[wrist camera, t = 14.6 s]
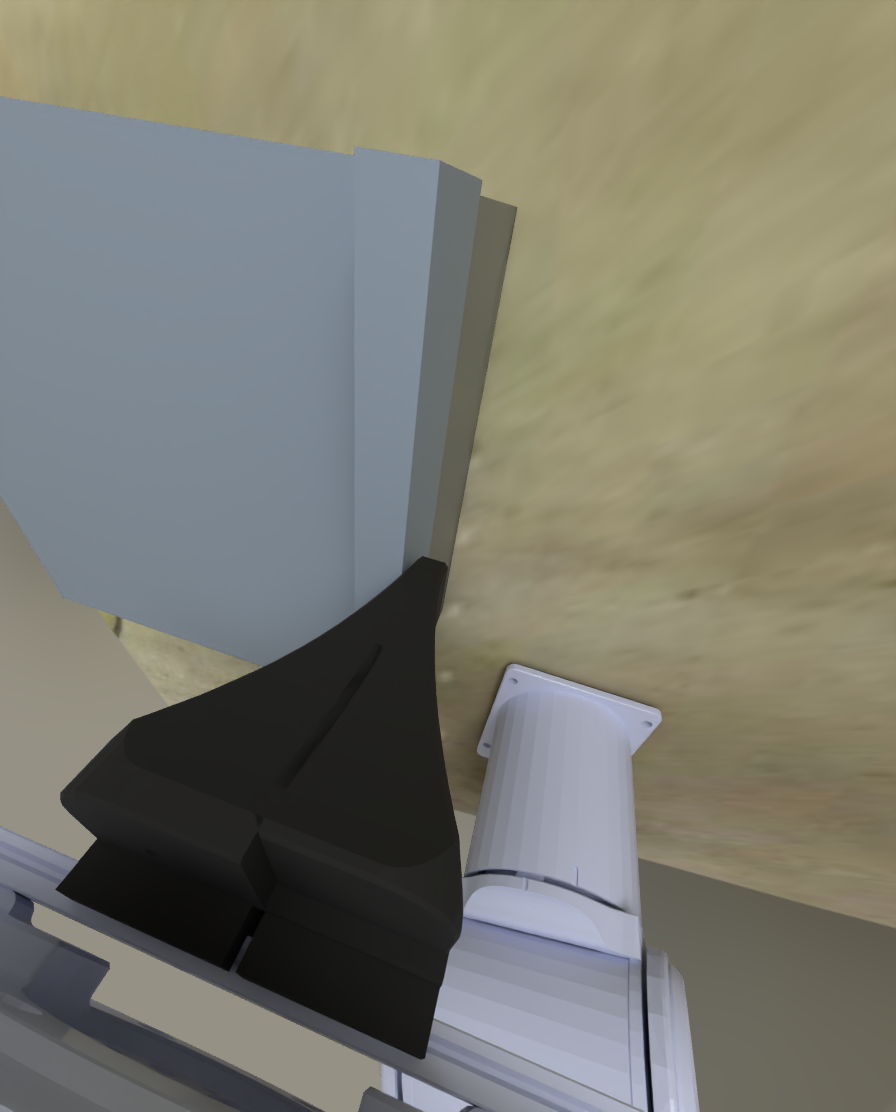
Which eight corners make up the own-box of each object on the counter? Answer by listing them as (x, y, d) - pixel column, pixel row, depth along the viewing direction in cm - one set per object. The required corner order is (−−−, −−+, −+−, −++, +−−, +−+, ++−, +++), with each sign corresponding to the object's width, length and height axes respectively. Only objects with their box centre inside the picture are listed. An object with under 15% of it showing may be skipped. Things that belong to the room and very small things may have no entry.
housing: (442, 609, 22) (409, 686, 18) (169, 525, 24) (90, 579, 20) (517, 207, 12) (479, 195, 8) (32, 122, 14) (-176, 81, 10)
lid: (408, 697, 18) (384, 756, 16) (79, 586, 20) (21, 625, 18) (482, 180, 8) (440, 160, 6) (-218, 62, 10) (-431, 17, 8)
